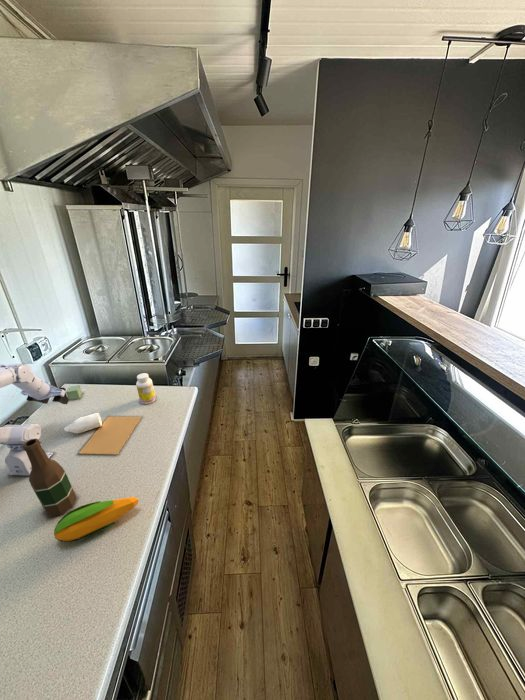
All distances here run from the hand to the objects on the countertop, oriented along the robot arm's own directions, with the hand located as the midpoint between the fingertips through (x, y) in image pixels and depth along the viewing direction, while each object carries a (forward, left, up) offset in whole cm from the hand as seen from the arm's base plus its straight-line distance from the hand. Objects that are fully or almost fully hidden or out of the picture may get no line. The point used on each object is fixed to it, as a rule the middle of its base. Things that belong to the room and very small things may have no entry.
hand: (57, 401), depth 109 cm
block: (+19, +9, -12) cm, 24 cm away
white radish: (-3, -9, -12) cm, 15 cm away
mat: (-5, -21, -12) cm, 25 cm away
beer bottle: (-34, -21, -12) cm, 41 cm away
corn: (-39, -36, -12) cm, 54 cm away
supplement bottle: (+17, -26, -12) cm, 33 cm away
